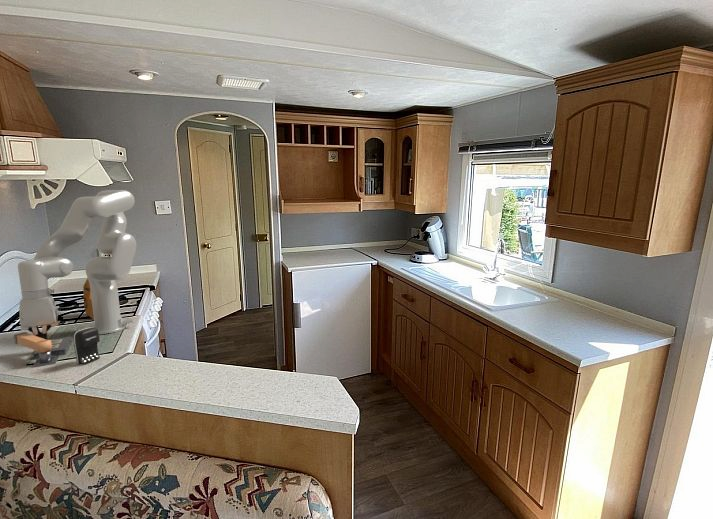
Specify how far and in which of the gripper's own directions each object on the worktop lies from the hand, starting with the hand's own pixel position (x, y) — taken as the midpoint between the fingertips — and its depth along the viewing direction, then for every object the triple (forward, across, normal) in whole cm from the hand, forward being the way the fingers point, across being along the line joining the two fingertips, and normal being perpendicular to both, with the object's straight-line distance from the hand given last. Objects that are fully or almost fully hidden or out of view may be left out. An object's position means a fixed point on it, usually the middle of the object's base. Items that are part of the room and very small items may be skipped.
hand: (42, 343), depth 139 cm
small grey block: (+3, -3, +13) cm, 14 cm away
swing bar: (-1, +1, +6) cm, 6 cm away
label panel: (+3, -3, 0) cm, 4 cm away
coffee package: (+3, -14, -45) cm, 47 cm away
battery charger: (+3, -16, +20) cm, 26 cm away
